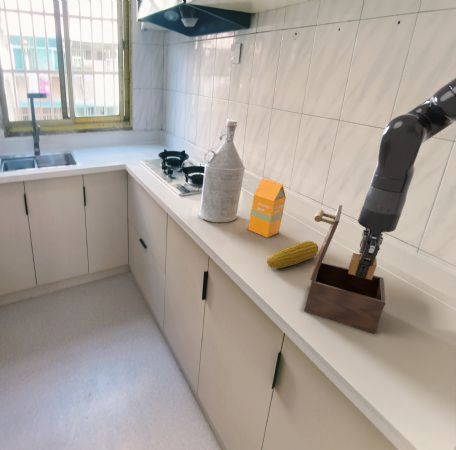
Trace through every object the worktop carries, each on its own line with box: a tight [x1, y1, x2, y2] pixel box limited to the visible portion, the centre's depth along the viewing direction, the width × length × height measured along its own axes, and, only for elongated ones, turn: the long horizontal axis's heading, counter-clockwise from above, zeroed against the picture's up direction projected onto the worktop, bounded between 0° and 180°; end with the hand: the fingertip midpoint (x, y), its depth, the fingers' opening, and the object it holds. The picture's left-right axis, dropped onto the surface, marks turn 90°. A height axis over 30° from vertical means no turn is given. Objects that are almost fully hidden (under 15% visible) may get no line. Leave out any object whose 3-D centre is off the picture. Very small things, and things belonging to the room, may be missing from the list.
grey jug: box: [198, 118, 246, 223], centre depth 135 cm, size 13×17×40 cm
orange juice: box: [248, 178, 287, 238], centre depth 127 cm, size 8×9×20 cm
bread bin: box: [303, 261, 386, 334], centre depth 86 cm, size 16×13×9 cm
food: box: [266, 240, 319, 269], centre depth 108 cm, size 21×6×6 cm, turn 121°
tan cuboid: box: [348, 252, 378, 280], centre depth 82 cm, size 5×4×4 cm
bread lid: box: [310, 204, 343, 281], centre depth 85 cm, size 16×13×5 cm
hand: (360, 272), depth 82 cm, fingers closed on tan cuboid, 4 cm apart
